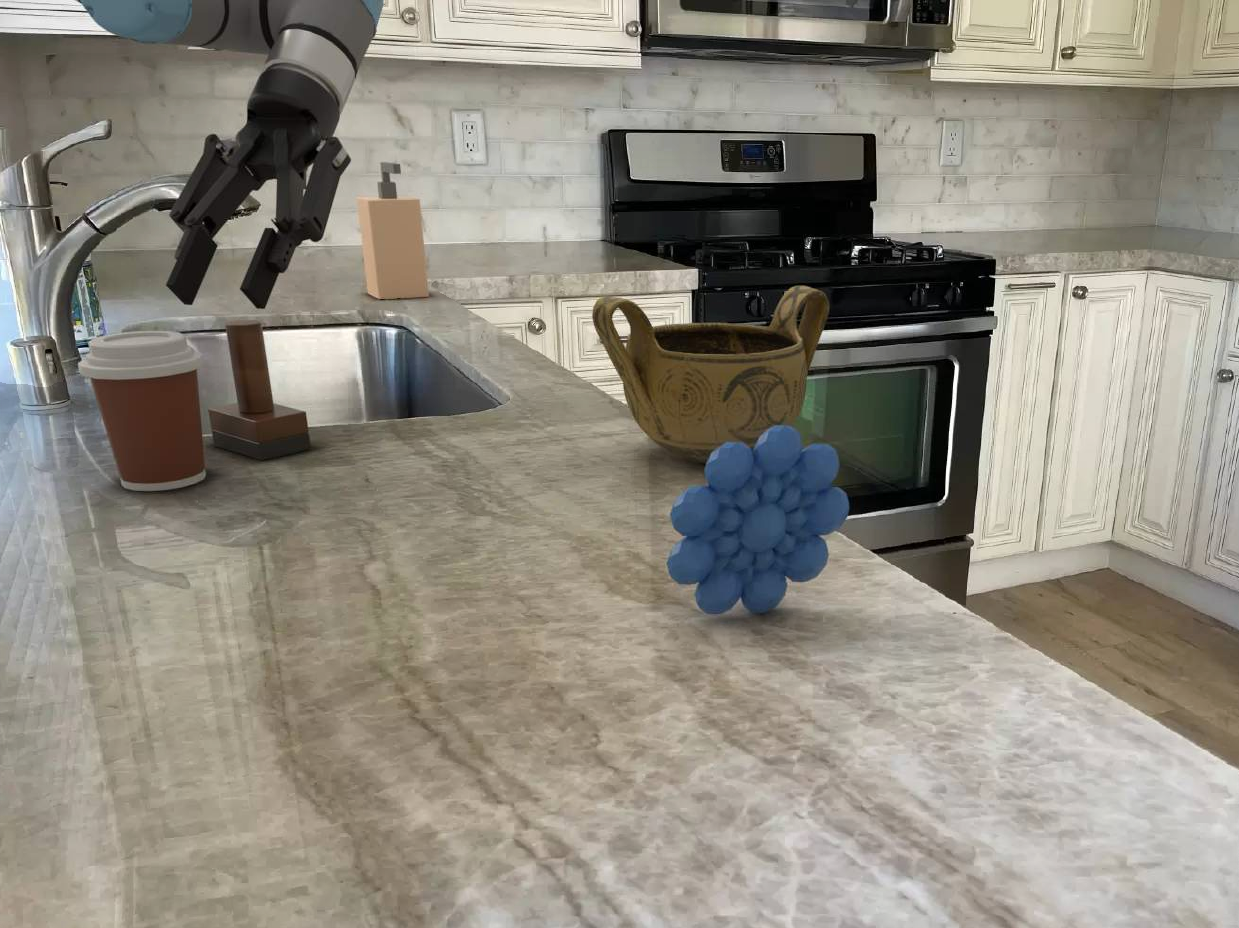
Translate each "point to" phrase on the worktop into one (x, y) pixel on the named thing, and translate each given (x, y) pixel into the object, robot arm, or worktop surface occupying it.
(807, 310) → the ceramic bowl
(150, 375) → the coffee cup
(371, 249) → the soap dispenser
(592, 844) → the worktop surface
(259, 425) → the rubber stamp
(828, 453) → the blue flower shape
